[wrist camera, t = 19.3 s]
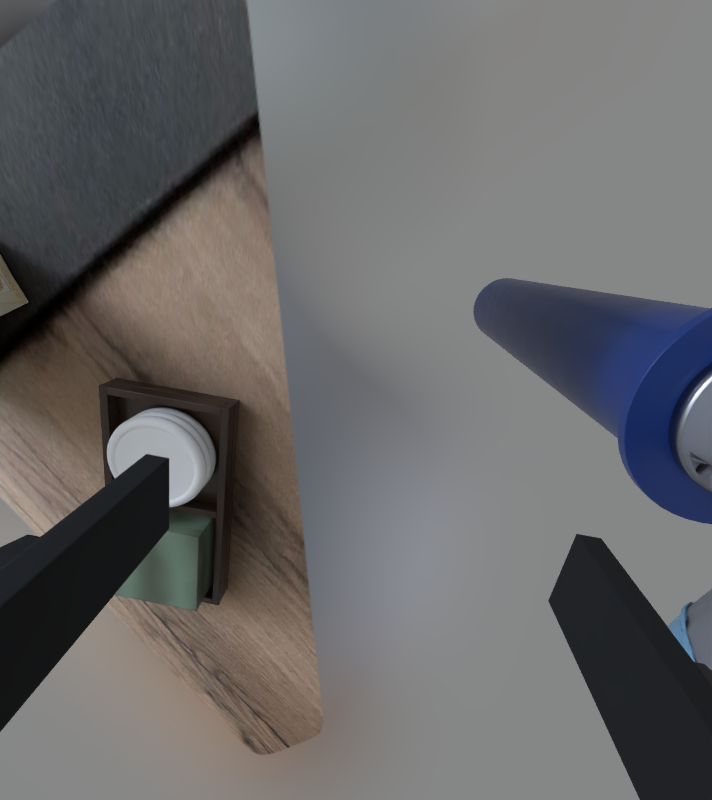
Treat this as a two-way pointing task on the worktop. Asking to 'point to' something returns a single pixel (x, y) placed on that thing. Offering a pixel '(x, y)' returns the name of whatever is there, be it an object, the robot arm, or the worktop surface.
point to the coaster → (166, 449)
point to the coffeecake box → (9, 291)
